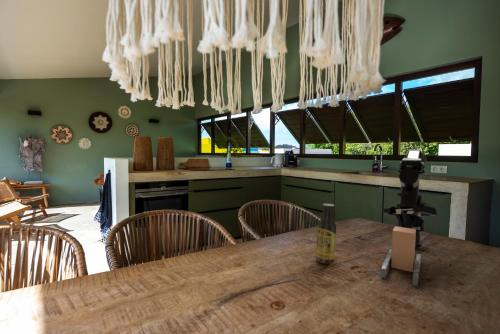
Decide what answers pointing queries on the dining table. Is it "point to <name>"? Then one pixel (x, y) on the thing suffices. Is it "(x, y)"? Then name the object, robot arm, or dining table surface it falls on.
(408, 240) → the terracotta block
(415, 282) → the chute
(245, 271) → the dining table surface
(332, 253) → the sauce bottle
